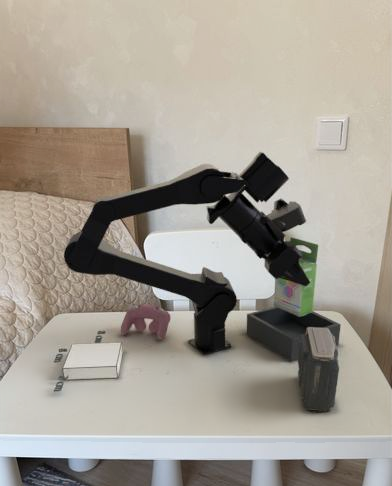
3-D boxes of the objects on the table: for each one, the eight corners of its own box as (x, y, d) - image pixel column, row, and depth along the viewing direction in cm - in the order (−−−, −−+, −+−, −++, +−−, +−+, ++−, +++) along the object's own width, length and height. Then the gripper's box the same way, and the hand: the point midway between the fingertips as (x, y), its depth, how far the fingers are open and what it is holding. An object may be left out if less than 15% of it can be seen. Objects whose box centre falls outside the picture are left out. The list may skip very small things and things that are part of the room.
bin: (246, 334, 107) (246, 313, 105) (291, 321, 112) (292, 301, 110) (291, 361, 96) (292, 339, 94) (338, 345, 101) (340, 324, 99)
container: (114, 394, 87) (113, 380, 86) (46, 397, 87) (43, 383, 86) (125, 341, 105) (124, 329, 104) (68, 343, 105) (66, 331, 104)
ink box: (272, 306, 103) (276, 240, 97) (286, 301, 105) (291, 236, 99) (298, 317, 98) (304, 248, 92) (313, 312, 100) (319, 244, 94)
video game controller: (170, 341, 108) (174, 307, 108) (162, 340, 104) (166, 305, 104) (127, 335, 111) (131, 302, 111) (117, 334, 107) (122, 300, 107)
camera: (335, 414, 80) (342, 357, 76) (298, 412, 81) (302, 355, 77) (329, 377, 91) (334, 325, 86) (295, 375, 91) (299, 324, 87)
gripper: (294, 198, 82) (352, 262, 88) (267, 179, 99) (318, 233, 105) (243, 248, 85) (304, 307, 91) (226, 221, 102) (278, 272, 108)
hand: (301, 277), depth 98 cm, fingers closed on ink box, 8 cm apart
